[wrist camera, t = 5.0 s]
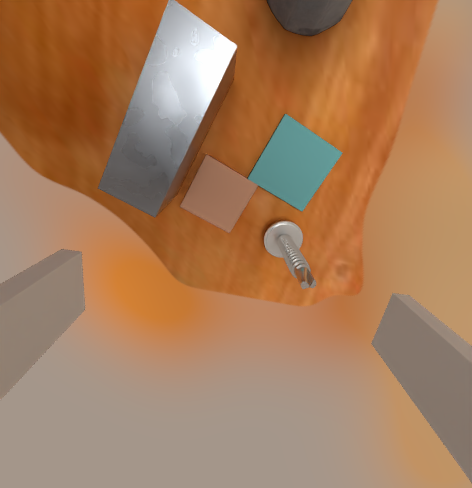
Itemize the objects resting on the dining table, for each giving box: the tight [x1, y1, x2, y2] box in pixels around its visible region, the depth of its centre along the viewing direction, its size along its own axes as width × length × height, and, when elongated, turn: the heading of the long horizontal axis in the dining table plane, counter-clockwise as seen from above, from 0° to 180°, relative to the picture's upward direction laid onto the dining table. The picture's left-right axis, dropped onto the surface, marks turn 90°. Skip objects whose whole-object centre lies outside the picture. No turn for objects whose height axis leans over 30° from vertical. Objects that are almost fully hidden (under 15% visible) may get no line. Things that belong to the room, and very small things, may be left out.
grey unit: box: [98, 0, 237, 217], centre depth 23 cm, size 5×14×10 cm, turn 150°
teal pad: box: [247, 114, 342, 211], centre depth 30 cm, size 8×8×1 cm
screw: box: [264, 221, 316, 289], centre depth 27 cm, size 13×5×5 cm
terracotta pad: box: [180, 154, 258, 233], centre depth 31 cm, size 7×7×1 cm
